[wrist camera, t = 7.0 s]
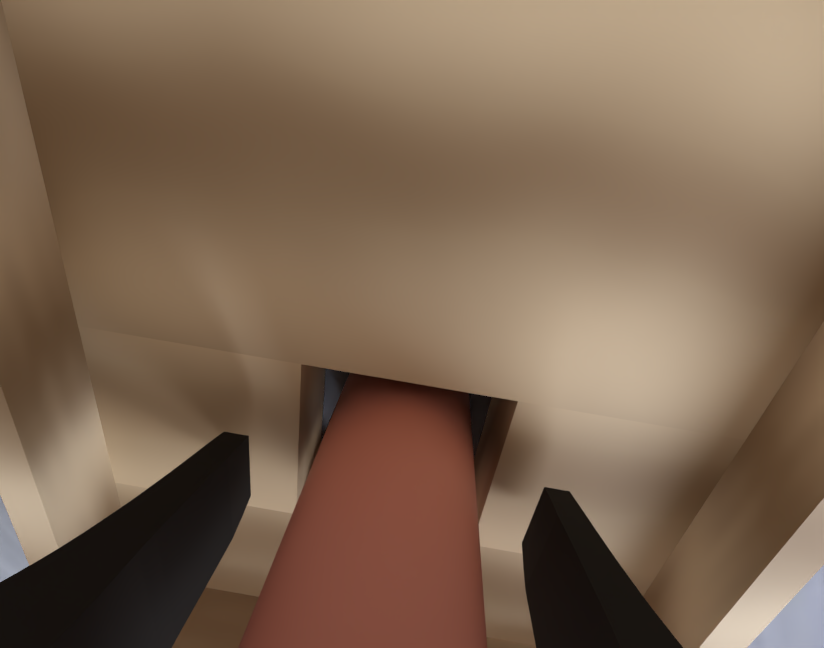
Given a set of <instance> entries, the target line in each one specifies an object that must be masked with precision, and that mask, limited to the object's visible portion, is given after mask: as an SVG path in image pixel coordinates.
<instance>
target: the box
mask: <svg viewBox="0 0 824 648" xmlns="http://www.w3.org/2000/svg"><path fill="white" fill-rule="evenodd" d="M326 369H332V370H338V371H344V372H350V373H355V374H361V375H367V376H373V377H379V378H385V379H391V380H396V381H402V382H408V383H414V384H420V385H426V386H432V387H437V388H443V389H449V390H455V391H461V392H467V393H472V394H478V395H484V396H490V397H492V398H491V401H490V405H489V408H488V412H487V415H486V419H485V422H484V426H483V429H482V433H481V436H480V440H479V443H478V447H477V450H476V454H475V457H474V469H475V483H476V497H477V511H478V525H479V539H480V553H481V567H482V581H483V595H484V609H485V623H486V637H487V648H536V644H535V639H534V634H533V629H532V623H531V618H530V612H529V607H528V602H527V596H526V590H525V580H524V569H523V554H522V541H523V539H524V536H525V534H526V531H527V529H528V526H529V524H530V521H531V519H532V516H533V514H534V511H535V509H536V506H537V504H538V501H539V499H540V496H541V494H542V491H543V489H544V487H548V488H554V489H560V490H565V491H570V493H571V494H572V495H573V497H574V498H575V500H576V501H577V503H578V504H579V506H580V507H581V509H582V510H583V512H584V513H585V514H586V516H587V517H588V519H589V520H590V522H591V523H592V525H593V526H594V528H595V529H596V531H597V532H598V534H599V535H600V537H601V538H602V539H603V541H604V542H605V544H606V545H607V547H608V548H609V550H610V551H611V552H612V554H613V555H614V557H615V558H616V560H617V561H618V562H619V564H620V565H621V567H622V568H623V569H624V571H625V572H626V574H627V575H628V576H629V578H630V579H631V580H632V582H633V583H634V585H635V586H636V587H637V589H638V590H639V592H640V593H641V594H642V596H643V597H644V598H645V600H646V601H647V602H648V603H649V605H650V606H651V607H652V609H653V610H654V611H655V613H656V614H657V615H658V616H659V618H660V619H661V620H662V621H663V623H664V624H665V625H666V627H667V628H668V629H669V630H670V632H671V633H672V634H673V635H674V637H675V638H676V639H677V641H678V642H679V643H680V644H681V645H682V647H683V648H747V647H748V646H749V645H750V644H751V643H752V641H753V640H754V639H755V638H756V637H757V636H758V635H759V634H760V633H761V632H762V631H763V630H764V629H765V627H766V626H767V625H768V624H769V623H770V622H771V621H772V620H773V619H774V618H775V617H776V616H777V615H778V613H779V612H780V611H781V610H782V609H783V608H784V607H785V606H786V605H787V604H788V603H789V602H790V600H791V599H792V598H793V597H794V596H795V595H796V594H797V593H798V592H799V591H800V590H801V589H802V588H803V586H804V585H805V584H806V583H807V582H808V581H809V580H810V579H811V578H812V577H813V576H814V575H815V574H816V572H817V571H818V570H819V569H820V568H821V567H822V566H823V565H824V0H0V495H1V498H2V500H3V502H4V505H5V507H6V510H7V512H8V514H9V517H10V519H11V522H12V524H13V527H14V529H15V531H16V534H17V536H18V539H19V541H20V543H21V546H22V548H23V551H24V553H25V556H26V558H27V560H28V563H29V565H32V564H33V563H35V562H37V561H38V560H40V559H42V558H43V557H45V556H47V555H48V554H50V553H52V552H53V551H55V550H57V549H58V548H60V547H61V546H63V545H65V544H66V543H68V542H69V541H71V540H73V539H74V538H76V537H77V536H79V535H80V534H82V533H84V532H85V531H87V530H88V529H90V528H91V527H93V526H94V525H96V524H97V523H99V522H100V521H102V520H103V519H104V518H106V517H107V516H109V515H110V514H112V513H113V512H115V511H116V510H118V509H119V508H121V507H122V506H124V505H125V504H127V503H128V502H130V501H131V500H132V499H134V498H135V497H137V496H138V495H139V494H141V493H142V492H144V491H145V490H146V489H148V488H149V487H150V486H152V485H153V484H155V483H156V482H157V481H159V480H160V479H161V478H163V477H164V476H166V475H167V474H168V473H170V472H171V471H172V470H174V469H175V468H176V467H178V466H179V465H180V464H182V463H183V462H184V461H185V460H187V459H188V458H189V457H191V456H192V455H193V454H195V453H196V452H197V451H199V450H200V449H201V448H202V447H204V446H205V445H206V444H208V443H209V442H210V441H212V440H213V439H214V438H216V437H217V436H218V435H220V434H221V433H223V432H230V433H235V434H241V435H247V436H249V456H250V484H251V497H250V499H249V502H248V504H247V506H246V509H245V511H244V514H243V516H242V519H241V521H240V523H239V525H238V528H237V530H236V532H235V535H234V537H233V539H232V541H231V543H230V544H229V546H228V548H227V550H226V552H225V553H224V555H223V557H222V559H221V561H220V562H219V564H218V566H217V568H216V570H215V571H214V573H213V575H212V577H211V579H210V580H209V582H208V584H207V586H206V587H205V589H204V591H203V593H202V595H201V596H200V598H199V600H198V602H197V603H196V605H195V607H194V609H193V611H192V612H191V614H190V616H189V618H188V619H187V621H186V623H185V625H184V627H183V628H182V630H181V632H180V634H179V635H178V637H177V639H176V641H175V643H174V645H173V647H172V648H238V647H239V645H240V642H241V640H242V637H243V635H244V632H245V630H246V627H247V625H248V622H249V620H250V617H251V615H252V613H253V610H254V608H255V605H256V603H257V600H258V598H259V595H260V593H261V590H262V588H263V585H264V583H265V580H266V578H267V575H268V573H269V570H270V568H271V566H272V563H273V561H274V558H275V556H276V553H277V551H278V548H279V546H280V543H281V541H282V538H283V536H284V533H285V531H286V528H287V526H288V523H289V521H290V518H291V516H292V514H293V511H294V509H295V506H296V504H297V501H298V499H299V496H300V494H301V491H302V489H303V486H304V484H305V481H306V479H307V476H308V474H309V471H310V469H311V467H312V464H313V462H314V459H315V457H316V454H317V452H318V449H319V447H320V444H321V432H322V416H323V401H324V385H325V370H326Z"/></svg>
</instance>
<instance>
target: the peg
mask: <svg viewBox="0 0 824 648" xmlns="http://www.w3.org/2000/svg"><path fill="white" fill-rule="evenodd" d="M238 648H487V637H486V623H485V609H484V595H483V581H482V567H481V553H480V539H479V525H478V511H477V497H476V483H475V469H474V455H473V441H472V427H471V413H470V399H469V393H467V392H461V391H455V390H449V389H443V388H437V387H432V386H426V385H420V384H414V383H408V382H402V381H396V380H391V379H385V378H379V377H373V376H367V375H361V374H355V373H350V374H349V376H348V378H347V380H346V382H345V385H344V387H343V390H342V392H341V395H340V397H339V400H338V402H337V405H336V407H335V410H334V412H333V415H332V417H331V419H330V422H329V424H328V427H327V429H326V432H325V434H324V437H323V439H322V442H321V444H320V447H319V449H318V452H317V454H316V457H315V459H314V462H313V464H312V467H311V469H310V471H309V474H308V476H307V479H306V481H305V484H304V486H303V489H302V491H301V494H300V496H299V499H298V501H297V504H296V506H295V509H294V511H293V514H292V516H291V518H290V521H289V523H288V526H287V528H286V531H285V533H284V536H283V538H282V541H281V543H280V546H279V548H278V551H277V553H276V556H275V558H274V561H273V563H272V566H271V568H270V570H269V573H268V575H267V578H266V580H265V583H264V585H263V588H262V590H261V593H260V595H259V598H258V600H257V603H256V605H255V608H254V610H253V613H252V615H251V617H250V620H249V622H248V625H247V627H246V630H245V632H244V635H243V637H242V640H241V642H240V645H239V647H238Z"/></svg>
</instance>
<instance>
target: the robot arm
mask: <svg viewBox="0 0 824 648" xmlns="http://www.w3.org/2000/svg"><path fill="white" fill-rule="evenodd" d="M250 497H251V484H250V456H249V436H247V435H241V434H235V433H230V432H223V433H221V434H220V435H218V436H217V437H216V438H214V439H213V440H212V441H210V442H209V443H208V444H206V445H205V446H204V447H202V448H201V449H200V450H199V451H197V452H196V453H195V454H193V455H192V456H191V457H189V458H188V459H187V460H185V461H184V462H183V463H182V464H180V465H179V466H178V467H176V468H175V469H174V470H172V471H171V472H170V473H168V474H167V475H166V476H164V477H163V478H161V479H160V480H159V481H157V482H156V483H155V484H153V485H152V486H150V487H149V488H148V489H146V490H145V491H144V492H142V493H141V494H139V495H138V496H137V497H135V498H134V499H132V500H131V501H130V502H128V503H127V504H125V505H124V506H122V507H121V508H119V509H118V510H116V511H115V512H113V513H112V514H110V515H109V516H107V517H106V518H104V519H103V520H102V521H100V522H99V523H97V524H96V525H94V526H93V527H91V528H90V529H88V530H87V531H85V532H84V533H82V534H80V535H79V536H77V537H76V538H74V539H73V540H71V541H69V542H68V543H66V544H65V545H63V546H61V547H60V548H58V549H57V550H55V551H53V552H52V553H50V554H48V555H47V556H45V557H43V558H42V559H40V560H38V561H37V562H35V563H33V564H32V565H30V566H28V567H27V568H25V569H23V570H21V571H20V572H18V573H16V574H14V575H13V576H11V577H9V578H7V579H5V580H4V581H2V582H0V648H172V647H173V645H174V643H175V641H176V639H177V637H178V635H179V634H180V632H181V630H182V628H183V627H184V625H185V623H186V621H187V619H188V618H189V616H190V614H191V612H192V611H193V609H194V607H195V605H196V603H197V602H198V600H199V598H200V596H201V595H202V593H203V591H204V589H205V587H206V586H207V584H208V582H209V580H210V579H211V577H212V575H213V573H214V571H215V570H216V568H217V566H218V564H219V562H220V561H221V559H222V557H223V555H224V553H225V552H226V550H227V548H228V546H229V544H230V543H231V541H232V539H233V537H234V535H235V532H236V530H237V528H238V525H239V523H240V521H241V519H242V516H243V514H244V511H245V509H246V506H247V504H248V502H249V499H250ZM522 554H523V569H524V580H525V590H526V596H527V602H528V607H529V612H530V618H531V623H532V629H533V634H534V639H535V644H536V648H683V647H682V645H681V644H680V643H679V642H678V641H677V639H676V638H675V637H674V635H673V634H672V633H671V632H670V630H669V629H668V628H667V627H666V625H665V624H664V623H663V621H662V620H661V619H660V618H659V616H658V615H657V614H656V613H655V611H654V610H653V609H652V607H651V606H650V605H649V603H648V602H647V601H646V600H645V598H644V597H643V596H642V594H641V593H640V592H639V590H638V589H637V587H636V586H635V585H634V583H633V582H632V580H631V579H630V578H629V576H628V575H627V574H626V572H625V571H624V569H623V568H622V567H621V565H620V564H619V562H618V561H617V560H616V558H615V557H614V555H613V554H612V552H611V551H610V550H609V548H608V547H607V545H606V544H605V542H604V541H603V539H602V538H601V537H600V535H599V534H598V532H597V531H596V529H595V528H594V526H593V525H592V523H591V522H590V520H589V519H588V517H587V516H586V514H585V513H584V512H583V510H582V509H581V507H580V506H579V504H578V503H577V501H576V500H575V498H574V497H573V495H572V494H571V493H570V491H565V490H560V489H554V488H548V487H544V489H543V491H542V494H541V496H540V499H539V501H538V504H537V506H536V509H535V511H534V514H533V516H532V519H531V521H530V524H529V526H528V529H527V531H526V534H525V536H524V539H523V541H522Z"/></svg>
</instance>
